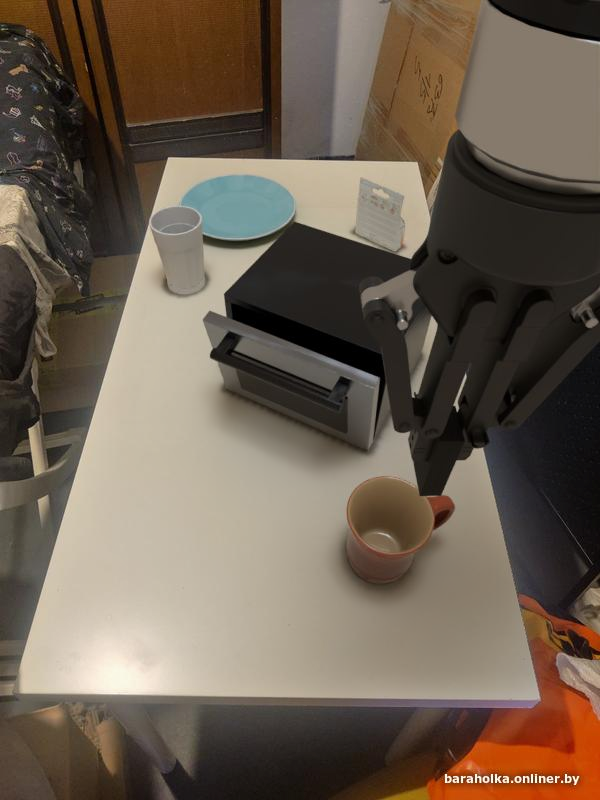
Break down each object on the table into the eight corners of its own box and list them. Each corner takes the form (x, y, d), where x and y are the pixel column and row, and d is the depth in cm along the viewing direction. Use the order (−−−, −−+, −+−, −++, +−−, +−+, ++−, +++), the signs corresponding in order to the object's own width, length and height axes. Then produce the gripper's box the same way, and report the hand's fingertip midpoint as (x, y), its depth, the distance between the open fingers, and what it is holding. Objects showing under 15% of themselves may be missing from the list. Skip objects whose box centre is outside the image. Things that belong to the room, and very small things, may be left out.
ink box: (361, 227, 104) (368, 170, 95) (402, 247, 100) (413, 189, 91) (352, 234, 103) (358, 176, 94) (393, 254, 99) (404, 195, 90)
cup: (160, 271, 94) (146, 209, 85) (206, 265, 96) (197, 202, 87) (165, 301, 89) (151, 238, 80) (213, 293, 91) (205, 230, 82)
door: (357, 471, 70) (361, 412, 57) (214, 406, 76) (187, 339, 63) (373, 441, 72) (380, 377, 59) (232, 380, 78) (209, 310, 65)
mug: (355, 604, 59) (366, 566, 51) (328, 532, 64) (334, 488, 56) (455, 572, 61) (480, 531, 53) (420, 505, 67) (439, 459, 59)
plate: (313, 236, 102) (314, 223, 100) (197, 261, 96) (195, 248, 94) (273, 178, 115) (272, 165, 113) (168, 198, 109) (166, 184, 107)
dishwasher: (373, 441, 72) (391, 357, 60) (233, 380, 79) (223, 293, 66) (420, 355, 83) (444, 269, 70) (293, 308, 89) (294, 221, 77)
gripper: (678, 100, 23) (504, 434, 41) (366, 98, 22) (330, 436, 40) (786, 198, 18) (534, 526, 36) (391, 198, 17) (338, 530, 36)
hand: (426, 478), depth 38 cm, fingers closed
